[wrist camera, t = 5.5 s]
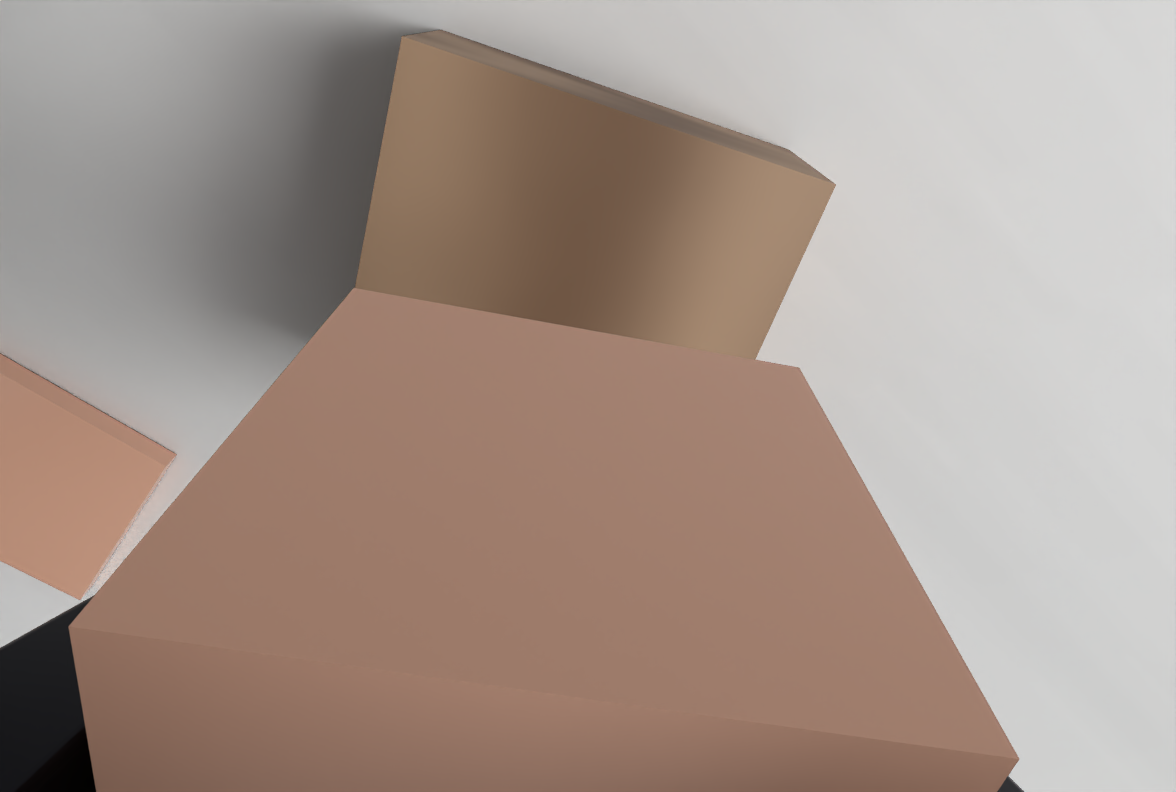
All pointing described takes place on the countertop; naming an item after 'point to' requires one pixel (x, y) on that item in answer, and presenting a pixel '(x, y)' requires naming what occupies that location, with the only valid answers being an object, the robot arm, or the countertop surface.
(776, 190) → the walnut base block
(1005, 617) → the countertop surface
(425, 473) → the terracotta cube
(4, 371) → the terracotta tile
